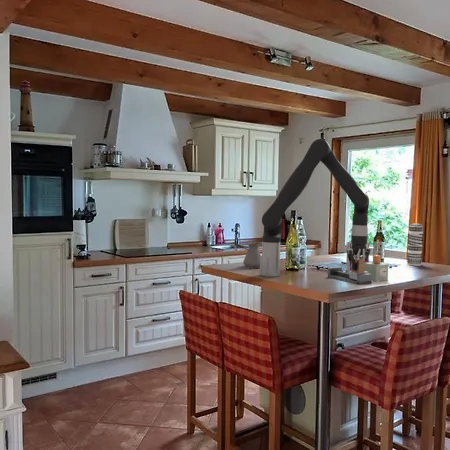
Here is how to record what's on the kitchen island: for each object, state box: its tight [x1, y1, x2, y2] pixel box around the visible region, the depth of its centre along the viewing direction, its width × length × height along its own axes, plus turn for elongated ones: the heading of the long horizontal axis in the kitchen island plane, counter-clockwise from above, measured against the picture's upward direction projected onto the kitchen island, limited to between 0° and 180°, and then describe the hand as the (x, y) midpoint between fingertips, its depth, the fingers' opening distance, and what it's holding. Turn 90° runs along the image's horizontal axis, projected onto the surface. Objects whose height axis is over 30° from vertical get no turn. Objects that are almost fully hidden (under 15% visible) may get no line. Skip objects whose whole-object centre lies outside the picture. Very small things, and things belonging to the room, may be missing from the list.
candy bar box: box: [345, 241, 370, 273], centre depth 257 cm, size 11×5×16 cm, turn 101°
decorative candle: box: [406, 223, 425, 267], centre depth 287 cm, size 9×9×25 cm
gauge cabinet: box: [364, 261, 389, 282], centre depth 236 cm, size 8×9×8 cm
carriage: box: [347, 258, 368, 280], centre depth 228 cm, size 7×6×10 cm
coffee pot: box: [232, 241, 262, 269], centre depth 263 cm, size 21×12×15 cm, turn 127°
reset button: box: [372, 254, 381, 264], centre depth 236 cm, size 3×3×4 cm
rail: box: [327, 266, 373, 286], centre depth 233 cm, size 8×22×5 cm, turn 29°
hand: (357, 269), depth 228 cm, fingers closed on carriage, 3 cm apart
